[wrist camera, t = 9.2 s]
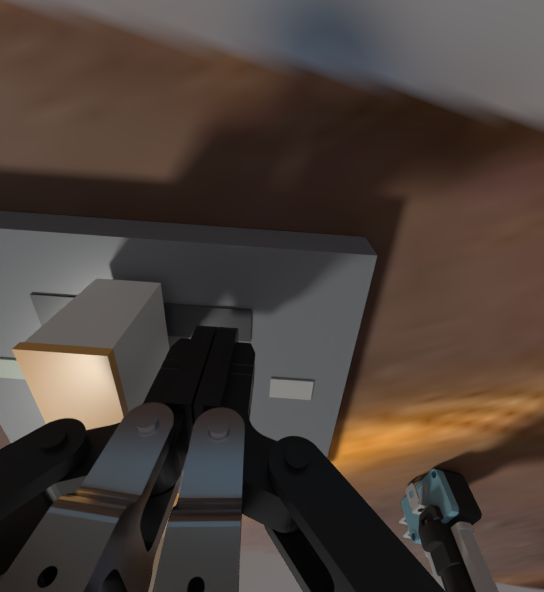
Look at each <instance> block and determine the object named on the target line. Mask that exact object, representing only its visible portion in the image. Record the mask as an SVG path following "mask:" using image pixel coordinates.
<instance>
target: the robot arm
mask: <svg viewBox="0 0 544 592" xmlns="http://www.w3.org/2000/svg"><path fill="white" fill-rule="evenodd" d="M254 372H255V351H254V349H253V347H252V344H251V343H242V342H239V330H238V328H229V327H214V326H201V325H197V326H196V328H195V330H194V333H193V335H192V337H191V339H188V338H180V339H179V340H178V341H177V342H176V343H175V344H173V345H172V346H171V347H170V349H169V351H168V353H167V355H166V357H165V360H164V361H163V363H162V365H161V369H159V372H158V374H157V376H156V378H155V380H154V382H153V384H152V386H151V388H150V390H149V392H148V394H147V396H146V398H145V400H144V402H143V404H142V405H139V406H137V407H135V408H134V409H132V410H131V411H129V412H128V413H127V414H126V415H125V416H124V418H123V419H122V421H121V422H119V423H117V424H113V425H109V426H104V427H99V428H94V429H89V430H86V428H85V426H84V424H83V423H82V422H81V421H79V420H77V419H73V418H63V419H58V420H54V421H52V422H49V423H47V424H45V425H43V426H41V427H40V428H38V429H36V430H34V431H32V432H31V433H29V434H27V435H25V436H23V437H22V438H20V439H18V440H16V441H14V442H13V443H11V444H9V445H7V446H5V447H4V448H2V449H0V592H148V591H149V587H150V582H151V578H152V571H153V563H154V558H155V555H156V552H157V549H158V546H159V543H160V540H161V537H162V535H163V532H164V529H165V526H166V523H167V521H168V523H167V528H166V532H165V537H164V542H163V547H162V551H161V555H160V560H159V564H158V569H157V573H156V578H155V582H154V587H153V591H152V592H239V572H240V546H241V521H242V514H244V515H246V516H248V517H250V518H252V519H254V520H256V521H258V522H260V523H262V524H264V526H265V529H266V531H267V533H268V534H269V536H270V538H271V539H272V541H273V543H274V544H275V546H276V548H277V549H278V551H279V553H280V554H281V556H282V557H283V559H284V561H285V562H286V564H287V566H288V567H289V569H290V571H291V572H292V574H293V576H294V577H295V579H296V581H297V582H298V584H299V586H300V587H301V589H302V591H303V592H446V591H445V590H444V589H443V588H442V587H441V586H440V585H439V583H438V582H437V581H436V580H435V579H434V578H433V577H432V576H431V574H430V573H429V572H428V571H427V570H426V569H425V568H424V567H423V565H422V564H421V563H420V562H419V561H418V560H417V559H416V558H415V556H414V555H413V554H412V553H411V552H410V551H409V550H408V549H407V547H406V546H405V545H404V544H403V543H402V542H401V541H400V540H399V538H398V537H397V536H396V535H395V534H394V533H393V532H392V531H391V529H390V528H389V527H388V526H387V525H386V524H385V523H384V522H383V520H382V519H381V518H380V517H379V516H378V515H377V514H376V513H375V511H374V510H373V509H372V508H371V507H370V506H369V505H368V504H367V502H366V501H365V500H364V499H363V498H362V497H361V496H360V495H359V493H358V492H357V491H356V490H355V489H354V488H353V487H352V486H351V484H350V483H349V482H348V481H347V480H346V479H345V478H344V477H343V475H342V474H341V473H340V472H339V471H338V470H337V469H336V468H335V466H334V465H333V464H332V463H331V462H330V461H329V460H328V459H327V457H326V456H325V455H324V454H323V453H322V452H321V451H320V450H319V448H318V447H317V446H316V445H315V444H314V443H312V442H311V441H310V440H308V439H306V438H303V437H299V436H287V437H284V438H282V439H280V440H278V441H276V440H273V439H271V438H268V437H266V436H264V435H262V434H261V433H259V432H258V431H257V430H256V429H255V428H254V427H253V426H252V424H251V422H250V413H251V405H252V395H253V387H254ZM186 456H187V459H186ZM185 459H186V464H185V469H184V474H183V479H182V470H183V466H184V463H185ZM181 481H182V484H181ZM180 484H181V488H180V493H179V498H178V502H177V504H176V506H174V507H173V504H174V501H175V498H176V496H177V493H178V490H179V487H180ZM172 507H173V508H172ZM170 512H171V513H170ZM169 515H170V516H169ZM168 518H169V519H168Z"/></svg>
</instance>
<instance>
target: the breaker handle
mask: <svg viewBox="0 0 544 592" xmlns="http://www.w3.org/2000/svg"><path fill="white" fill-rule="evenodd" d="M12 351H13V354H14V356H15V358H16V360H17V362H18V364H19V367H20V369H21V371H22V373H23V375H24V378H25V380H26V382H27V384H28V386H29V388H30V391H31V393H32V395H33V397H34V399H35V402H36V404H37V406H38V408H39V410H40V412H41V415H42V417H43V419H44V421H45V423H46V424H47V423H49V422H52V421H54V420H58V419H63V418H73V419H77V420H79V421H81V422H82V423H83V424H84V426H85V428H86V430H89V429H94V428H99V427H104V426H109V425H113V424H117V423H119V422H121V421H122V419H123V418H124V416H125V415H126V414H127V413H128V412H129V411H131V410H132V409H134V408H135V407H137V406H139V405H142V404H143V402H144V400H145V398H146V396H147V394H148V392H149V390H150V388H151V386H152V384H153V382H154V380H155V378H156V376H157V374H158V372H159V369H161V365H162V363H163V361H164V360H165V357H166V355H167V353H168V351H169V342H168V335H167V327H166V320H165V312H164V305H163V297H162V289H161V283H155V282H141V281H127V280H113V279H99V278H96V279H95V280H94V281H93V282H92V283H91V284H90V285H88V286H87V287H86V288H85V289H84V290H83V291H82V292H80V293H79V294H78V295H77V296H76V297H75V298H74V299H73V300H71V301H70V302H69V303H68V304H67V305H66V306H65V307H63V308H62V309H61V310H60V311H59V312H58V313H57V314H55V315H54V316H53V317H52V318H51V319H50V320H49V321H47V322H46V323H45V324H44V325H43V326H42V327H41V328H40V329H38V330H37V331H36V332H35V333H34V334H33V335H32V336H30V337H29V338H28V339H27V340H26V341H25V342H19V343H18V344H17V345H16V346H15V347H13V348H12Z"/></svg>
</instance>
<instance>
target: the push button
mask: <svg viewBox="0 0 544 592" xmlns="http://www.w3.org/2000/svg"><path fill="white" fill-rule="evenodd" d="M401 504H402V509H403V512H404V517H403V518H402V519H400V520H399V523H402V524H407V526H408V531H407V532H406V533H404V534H403V537H405V538H410V539H411V540H412V541H413V542H414V543H419V544H422V547H423V549H424V551H425V554H426V557H428V559H429V562H430V565H431V568H432V571H433V574H434V577H435V580H436V581H437V582H438V583H439V585H440V586H441V587H442V588H443V589H444V590H445V591H446V592H499V591H498V589H497V587H496V584H495V582H494V580H493V578H492V575H491V573H490V571H489V569H488V566H487V564H486V562H485V560H484V557H483V555H482V553H481V551H480V548H479V546H478V544H477V542H476V539H475V537H474V535H473V532H474V530H473V528H472V525H473V524H475V523H476V522H477V521H478V520H480V519H481V516H482V514H481V511H480V509H479V507H478V505H477V503H476V501H475V499H474V496H473V494H472V492H471V490H470V488H469V486H468V484H467V482H466V480H465V478H464V476H463V475H460V474H455V473H451V472H447V471H442V470H438V469H431V470H430V471H429V473H428V474H427V475H426V476H425V477H424V478H423V479H422V480H421V481H420V482H419V483H418V484H417V485H416V486H415V484H413V483H411V484H410V485H409V486H408V487H407V488H406V497H405V498H404V499H403V500H402V503H401ZM405 519H406V521H404V520H405ZM408 534H410V535H408Z"/></svg>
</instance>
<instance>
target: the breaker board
mask: <svg viewBox="0 0 544 592" xmlns="http://www.w3.org/2000/svg"><path fill="white" fill-rule="evenodd" d="M376 260H377V254H376V253H375V251H374V249H373V248H372V246H371V245H370V243H369V242H368V240H367V239H366V237H360V236H346V235H333V234H319V233H305V232H291V231H277V230H263V229H249V228H235V227H221V226H207V225H193V224H179V223H165V222H151V221H137V220H123V219H109V218H95V217H81V216H67V215H53V214H39V213H25V212H11V211H0V425H1V426H2V428H3V430H4V432H5V433H6V435H7V437H8V439H9V440H10V442H11V443H13V442H14V441H16V440H18V439H20V438H22V437H23V436H25V435H27V434H29V433H31V432H32V431H34V430H36V429H38V428H40V427H41V426H43V425H45V424H46V423H45V421H44V419H43V417H42V415H41V412H40V410H39V408H38V406H37V404H36V402H35V399H34V397H33V395H32V393H31V391H30V388H29V386H28V384H27V382H26V380H25V378H24V375H23V373H22V371H21V369H20V367H19V364H18V362H17V360H16V358H15V356H14V354H13V351H12V348H13V347H15V346H16V345H17V344H18V343H19V342H25V341H26V340H27V339H28V338H29V337H30V336H32V335H33V334H34V333H35V332H36V331H37V330H38V329H40V328H41V327H42V326H43V325H44V324H45V323H46V322H47V321H49V320H50V319H51V318H52V317H53V316H54V315H55V314H57V313H58V312H59V311H60V310H61V309H62V308H63V307H65V306H66V305H67V304H68V303H69V302H70V301H71V300H73V299H74V298H75V297H76V296H77V295H78V294H79V293H80V292H82V291H83V290H84V289H85V288H86V287H87V286H88V285H90V284H91V283H92V282H93V281H94V280H95V279H96V278H99V279H113V280H127V281H141V282H155V283H161V289H162V297H163V305H164V312H165V320H166V327H167V335H168V342H169V349H170V347H171V346H172V345H173V344H175V343H176V342H177V341H178V340H179V339H180V338H188V339H191V337H192V335H193V333H194V330H195V328H196V326H197V325H201V326H214V327H229V328H238V330H239V342H242V343H251V344H252V347H253V349H254V351H255V372H254V387H253V395H252V405H251V413H250V422H251V424H252V426H253V427H254V428H255V429H256V430H257V431H258V432H259V433H261V434H262V435H264V436H266V437H268V438H271V439H273V440H276V441H278V440H280V439H282V438H284V437H287V436H299V437H303V438H306V439H308V440H310V441H311V442H312V443H314V444H315V445H316V446H317V447H318V448H319V450H320V451H321V452H322V453H323V454H324V455H325V456H326V457H328V453H329V449H330V445H331V441H332V437H333V432H334V428H335V424H336V420H337V416H338V412H339V408H340V404H341V400H342V396H343V392H344V388H345V384H346V380H347V376H348V372H349V368H350V364H351V360H352V356H353V352H354V348H355V344H356V340H357V336H358V332H359V328H360V324H361V320H362V316H363V312H364V308H365V304H366V300H367V296H368V292H369V288H370V284H371V280H372V276H373V272H374V268H375V264H376ZM186 459H187V456H186ZM186 459H185V463H184V466H183V470H182V479H183V474H184V469H185V464H186ZM181 484H182V481H181ZM181 484H180V487H179V490H178V493H180V488H181Z"/></svg>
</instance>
